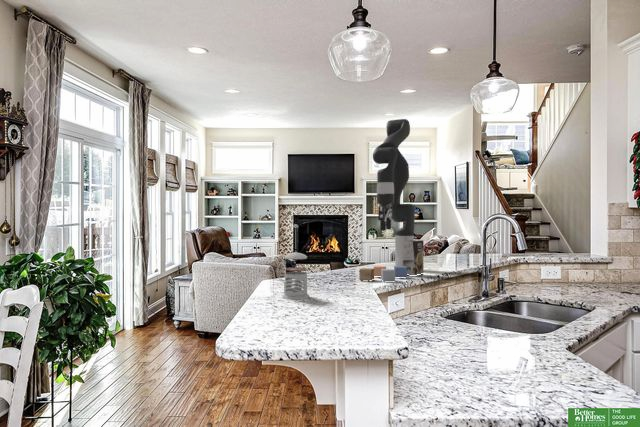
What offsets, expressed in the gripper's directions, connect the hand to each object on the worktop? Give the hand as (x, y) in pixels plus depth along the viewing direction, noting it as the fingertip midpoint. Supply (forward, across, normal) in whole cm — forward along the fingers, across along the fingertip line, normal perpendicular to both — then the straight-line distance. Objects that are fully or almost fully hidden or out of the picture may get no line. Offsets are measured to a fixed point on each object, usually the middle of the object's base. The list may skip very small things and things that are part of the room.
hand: (385, 229), depth 197 cm
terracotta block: (+22, -2, -4) cm, 22 cm away
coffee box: (+22, -14, +9) cm, 27 cm away
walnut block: (+21, +10, -6) cm, 24 cm away
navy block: (+22, -4, +5) cm, 22 cm away
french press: (+20, +55, -17) cm, 61 cm away
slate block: (+21, +8, +3) cm, 23 cm away
